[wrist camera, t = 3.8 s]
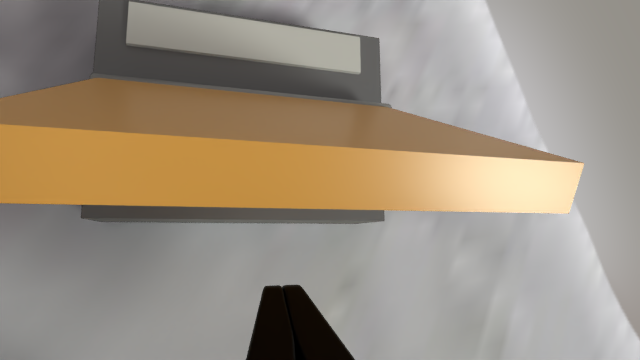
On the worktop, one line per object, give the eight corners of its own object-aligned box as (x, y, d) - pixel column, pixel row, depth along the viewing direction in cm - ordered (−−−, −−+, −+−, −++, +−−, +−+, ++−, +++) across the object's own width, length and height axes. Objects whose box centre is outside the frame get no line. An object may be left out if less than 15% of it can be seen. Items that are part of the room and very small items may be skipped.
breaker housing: (356, 223, 19) (386, 220, 16) (101, 221, 16) (79, 217, 13) (353, 66, 20) (381, 36, 17) (115, 35, 17) (98, -9, 14)
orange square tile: (377, 131, 17) (574, 218, 8) (98, 108, 14) (-100, 208, 5) (382, 102, 16) (594, 158, 7) (97, 72, 13) (-117, 107, 4)
